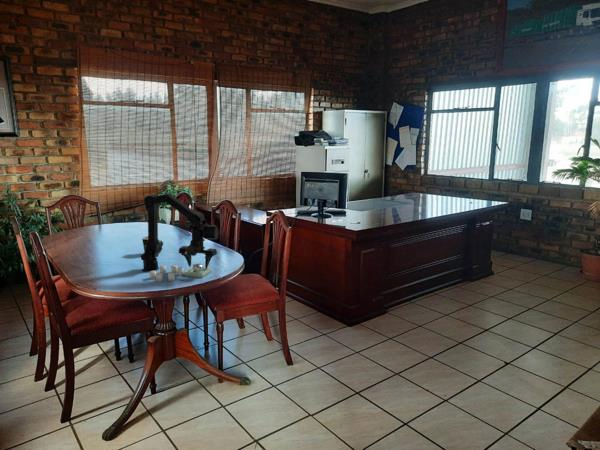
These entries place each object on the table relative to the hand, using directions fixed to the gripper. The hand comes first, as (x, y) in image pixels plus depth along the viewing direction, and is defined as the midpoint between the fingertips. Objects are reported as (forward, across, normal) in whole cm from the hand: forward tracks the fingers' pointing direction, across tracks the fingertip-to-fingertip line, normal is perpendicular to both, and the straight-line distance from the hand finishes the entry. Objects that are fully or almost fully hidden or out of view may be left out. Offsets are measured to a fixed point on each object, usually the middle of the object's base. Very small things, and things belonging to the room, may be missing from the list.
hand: (198, 267), depth 227 cm
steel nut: (+3, 0, 0) cm, 3 cm away
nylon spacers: (+4, -12, -9) cm, 16 cm away
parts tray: (+4, 0, 0) cm, 4 cm away
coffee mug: (+4, -42, +23) cm, 48 cm away
